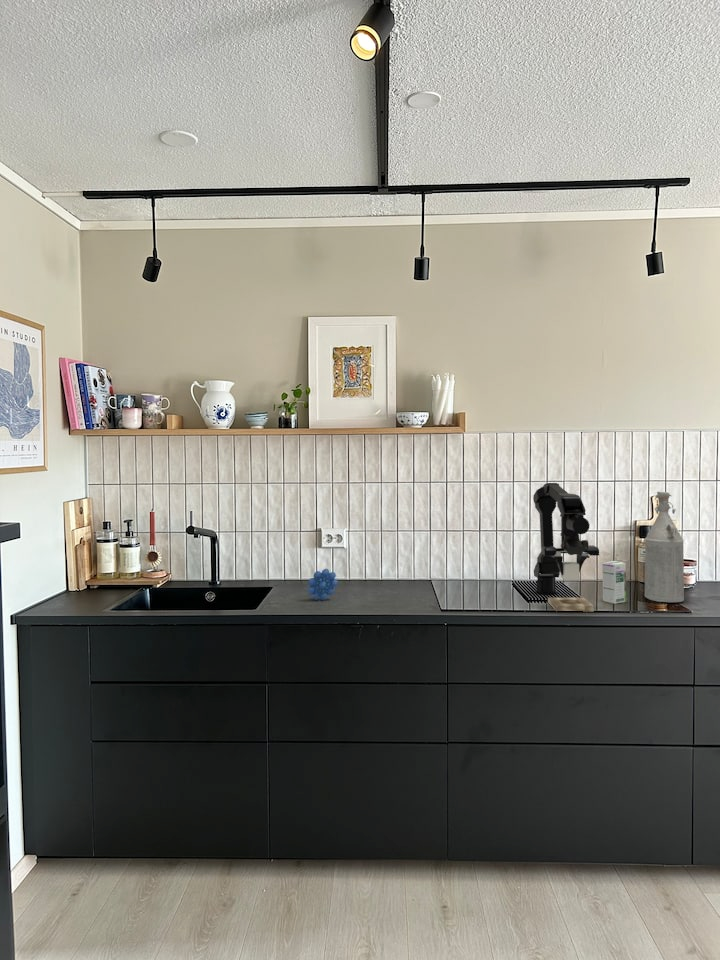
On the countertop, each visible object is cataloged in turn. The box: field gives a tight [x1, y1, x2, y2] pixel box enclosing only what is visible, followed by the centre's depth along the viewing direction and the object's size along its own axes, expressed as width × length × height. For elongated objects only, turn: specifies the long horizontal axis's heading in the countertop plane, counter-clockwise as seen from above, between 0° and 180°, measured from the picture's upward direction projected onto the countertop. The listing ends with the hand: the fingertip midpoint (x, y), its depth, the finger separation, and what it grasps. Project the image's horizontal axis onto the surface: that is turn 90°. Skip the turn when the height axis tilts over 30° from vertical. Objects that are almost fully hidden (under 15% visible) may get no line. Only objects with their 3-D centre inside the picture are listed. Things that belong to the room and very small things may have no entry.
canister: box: [644, 491, 685, 603], centre depth 232 cm, size 13×17×40 cm
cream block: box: [560, 561, 580, 581], centre depth 222 cm, size 5×5×6 cm
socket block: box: [547, 597, 595, 613], centre depth 222 cm, size 12×12×2 cm
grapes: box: [307, 568, 339, 601], centre depth 241 cm, size 12×7×12 cm, turn 96°
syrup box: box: [601, 560, 627, 605], centre depth 230 cm, size 6×6×14 cm
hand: (569, 575), depth 222 cm, fingers closed on cream block, 5 cm apart
